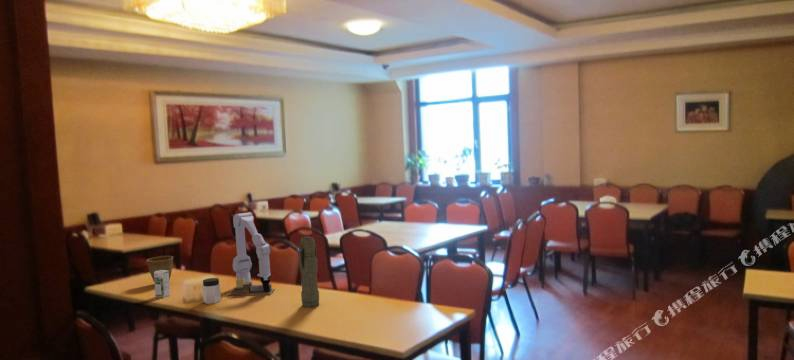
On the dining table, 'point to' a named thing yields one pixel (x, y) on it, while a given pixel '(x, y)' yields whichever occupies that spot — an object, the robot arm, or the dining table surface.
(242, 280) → the spacer
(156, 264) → the plant pot
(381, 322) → the dining table surface
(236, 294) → the bearing block
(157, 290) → the syrup box
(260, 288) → the shaft
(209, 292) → the jar
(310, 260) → the thermos
